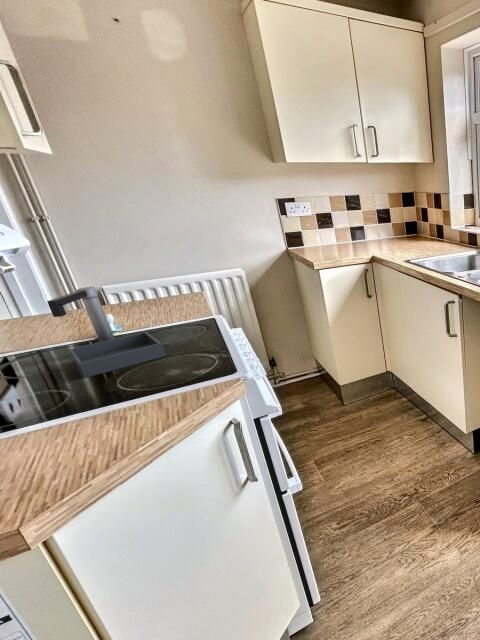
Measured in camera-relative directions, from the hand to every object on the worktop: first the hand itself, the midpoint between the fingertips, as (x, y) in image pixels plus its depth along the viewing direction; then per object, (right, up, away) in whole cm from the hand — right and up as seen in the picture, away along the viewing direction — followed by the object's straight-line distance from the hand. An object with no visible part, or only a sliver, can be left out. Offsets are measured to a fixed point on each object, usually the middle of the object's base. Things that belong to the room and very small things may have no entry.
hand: (8, 270), depth 98 cm
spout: (+10, -8, +6) cm, 15 cm away
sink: (+19, -21, +8) cm, 29 cm away
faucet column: (+10, -18, +15) cm, 25 cm away
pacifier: (+1, -15, +24) cm, 28 cm away
